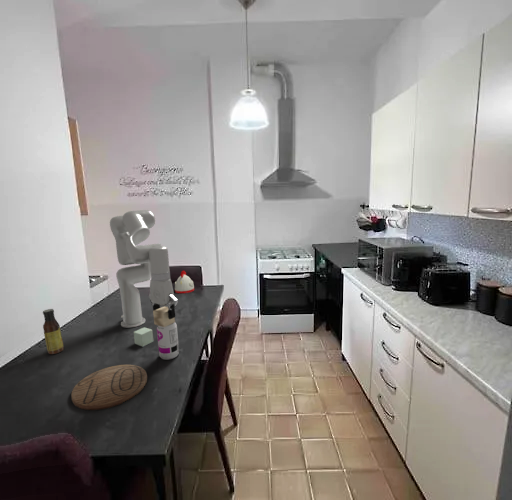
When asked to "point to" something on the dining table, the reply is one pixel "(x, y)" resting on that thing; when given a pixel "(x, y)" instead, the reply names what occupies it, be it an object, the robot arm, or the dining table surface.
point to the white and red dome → (184, 284)
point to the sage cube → (143, 336)
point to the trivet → (109, 387)
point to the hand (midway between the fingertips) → (164, 316)
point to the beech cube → (162, 317)
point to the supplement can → (168, 341)
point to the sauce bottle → (52, 333)
